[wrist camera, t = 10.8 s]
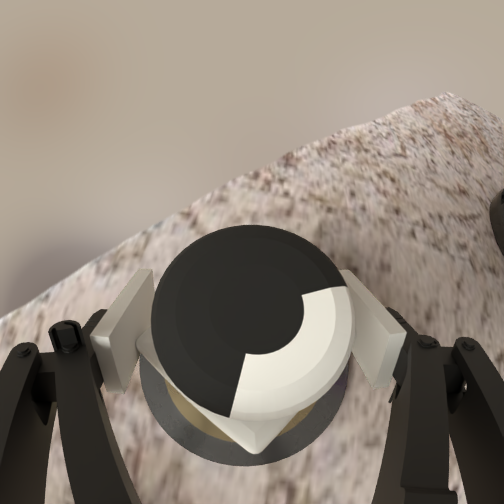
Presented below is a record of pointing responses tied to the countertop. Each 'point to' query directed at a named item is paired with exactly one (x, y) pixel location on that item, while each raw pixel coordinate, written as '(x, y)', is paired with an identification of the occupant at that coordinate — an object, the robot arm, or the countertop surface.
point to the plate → (220, 444)
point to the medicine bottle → (250, 329)
